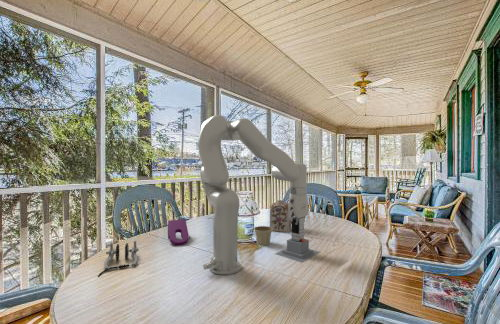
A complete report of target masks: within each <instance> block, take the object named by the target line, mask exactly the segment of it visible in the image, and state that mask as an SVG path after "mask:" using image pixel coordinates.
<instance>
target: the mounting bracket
mask: <svg viewBox="0 0 500 324" xmlns="http://www.w3.org/2000/svg"><path fill="white" fill-rule="evenodd" d="M177 233H180V238H181V239H180V240H179V239H177ZM189 237H190V235H189V230H188V226H187V220H186V218H185V219H184V218H183V219H182V218H181V219H173V220H172V219H171V220H170V219H169V220H167V239H168V240H169V242H170V243H171V244H172V245H173V246H183V245H185V244H187V243H188V242H189Z"/></svg>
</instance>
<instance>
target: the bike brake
mask: <svg viewBox="0 0 500 324" xmlns="http://www.w3.org/2000/svg"><path fill="white" fill-rule="evenodd" d="M109 245H110V247H109V250H108V251H106V252H105V255H108V256H107V258H106V260H105V262H104V264H103V267H104V270H102V271H101V272H99V274H98V275H97V278H99V277H101V275H102V274H103V273H105V272H107V271H115V270H118V269H125V268H129V267H133V268H134V267H136V266H137V265H139V263H138V256H137V255H138V254H137V253H138V252H139V247H138V246H137V240H134V241H133V246H132V247H131V248H130V247H129V243H128V242H126V243H125V246H124V259H125V260H126V261H128V259H129V256H130V255H129V254H130V253H131V258H132V259H133V262H132V263H131V264H120V265H109V266H108V264H109V263H110V262H112V260H113V259H114V256H115V260H116V262H118V261H119V260H120V244H119V243H117V244H116V246H115V248H114V243H113V242H110V244H109Z"/></svg>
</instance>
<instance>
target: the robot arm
mask: <svg viewBox="0 0 500 324" xmlns="http://www.w3.org/2000/svg"><path fill="white" fill-rule="evenodd" d="M222 141H240V142H241V143H242V144H243V145H244V146H245V147H246V148H247V149H248V150H249V151H250V152H251V153H252V154H253V156H254V157H256V158H258V159H260V160H262V161H264V162H266V163H269V164H270V165H272V168H271V176H272V177H273V178H274V179H276V180H278V181H285V182H289V197H288V203H289V207H288V213H289V217H288V219H289V220H290V221H291V234H292V233H296V234H298V218H301V217H304V223H305V222H306V221H305V219H306V216H309V198H308V195H307V193H308V192H307V180H308V179H307V178H308V177H307V175H308V174H307V173H308V172H307V171H308V170H307V169H308V166H307V164H305V163H296V162H295V161H294V160H293V158H292V157H291V156H290V155H289V154H287V153H286V152H285V151H284V150H282V149H281V148H279V147H278V146H276V145H275V144H273V143H272V142H271V141H270V140H268V139H267V138H266V136H265V135H264V134H263V133H262V132H261V130H259V128H258V127H257V126H256V125H255V124H254V122H252V121H251V120H250V119H249V118H246V117H244V118H243V117H242V118H239V119H236V120H227V118H226V117H225V116H223V115H221V114H216V115H213V116H210V117H208V118H207V119H206V120H204V121H203V122H202V124H201V126H200V132H199V136H198V141H197V142H198V143H197V145H198V146H197V148H198V154H199V156H200V160H201V163H202V167H201V169H200V173H199V175H200V176H199V177H200V181H201V183H202V186H203V191H204V192H205V196H206V198H207V201H208V203H209V204H210V206H211V207H213V208H214V214H213V223H212V224H213V226H212V227H213V229H212V230H213V233H212V234H213V239H212V240H213V242H212V243H213V244H212V245H213V249H212V250H213V253H212V254H213V255H212V256H213V257H211V259H210V261H209V262H208V263H205V264H203V267H202V268H203V270H205V271H206V270H208V269H209V271H210V272H211V273H213V274H216V275H221V276H222V275H227V276H228V275H233V274H236V273H238V272H239V271H241V270H242V263H241V262H240V261H238V249H239V248H238V245H239V244H238V241H239V240H238V239H239V238H238V233H239V232H238V225H239V224H238V220H239V219H238V218H239V212H240V210H239V209H240V197H239V195H238V194H237V192H236V191H235V190H233V189H232V188H228V187H227V185H226V184H227V183H228V181H229V179H230V173H229V169H228V167H227V164H226V160H225V158H224V154H223V151H222ZM294 218H295V219H296V220H295V219H294Z"/></svg>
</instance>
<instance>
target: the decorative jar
mask: <svg viewBox="0 0 500 324" xmlns="http://www.w3.org/2000/svg"><path fill="white" fill-rule="evenodd" d="M288 207H289V202H286V201H285V200H282V199H278V200H277V201H276V202H273V203H271V205H270V208H269V227H271V228H273V230H272V232H277V231H280V232H279V233H289V232H290V230H291V229H292V224H291V221H290V220H289V219H288V217H289V213H288Z"/></svg>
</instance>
